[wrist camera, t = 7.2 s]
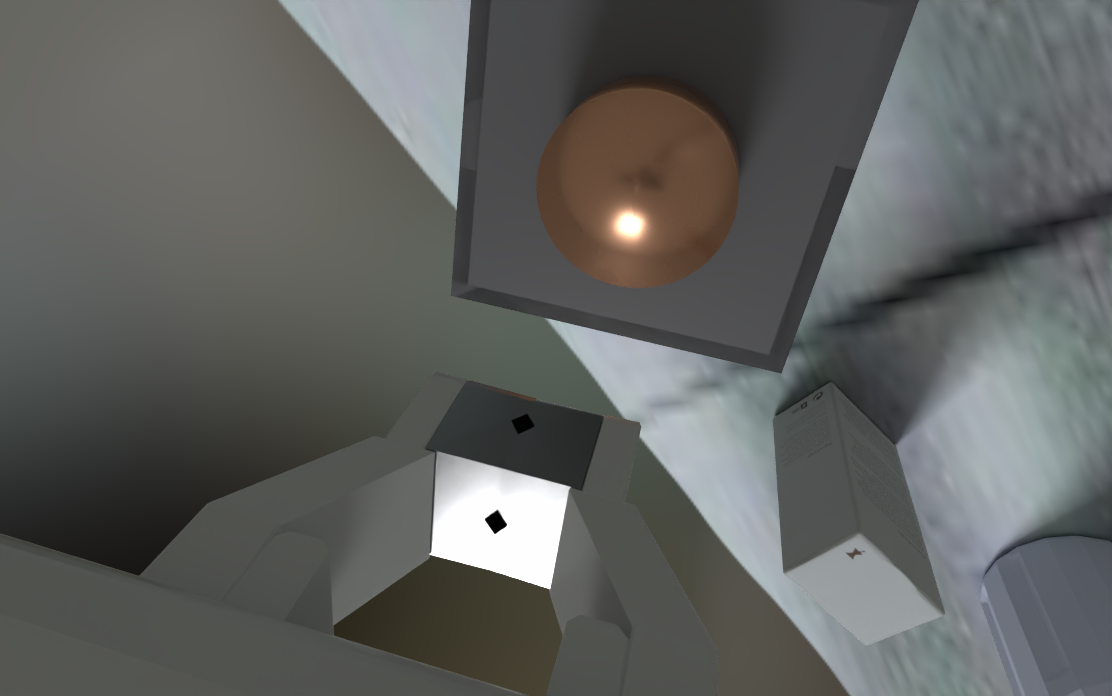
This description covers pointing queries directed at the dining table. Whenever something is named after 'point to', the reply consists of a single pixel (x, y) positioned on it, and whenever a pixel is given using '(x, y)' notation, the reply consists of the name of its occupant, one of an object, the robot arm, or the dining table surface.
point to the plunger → (640, 182)
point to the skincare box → (850, 519)
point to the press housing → (755, 120)
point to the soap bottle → (1053, 616)
